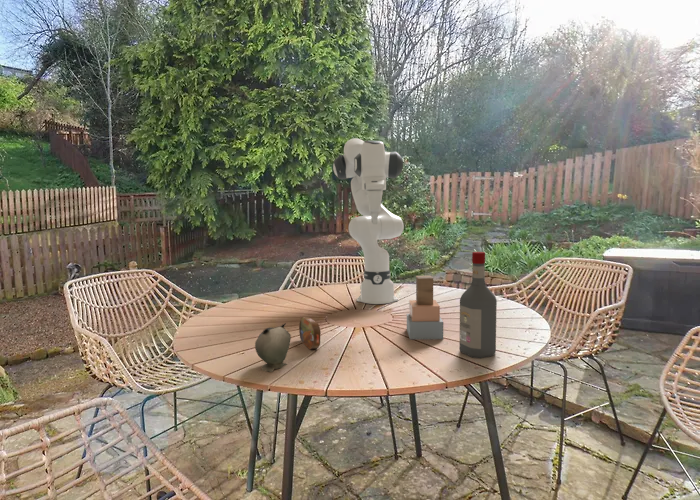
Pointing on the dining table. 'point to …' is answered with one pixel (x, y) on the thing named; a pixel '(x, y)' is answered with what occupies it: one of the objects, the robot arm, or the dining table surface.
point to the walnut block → (424, 290)
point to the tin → (309, 332)
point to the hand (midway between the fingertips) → (374, 223)
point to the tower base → (424, 329)
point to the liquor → (478, 314)
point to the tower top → (424, 311)
